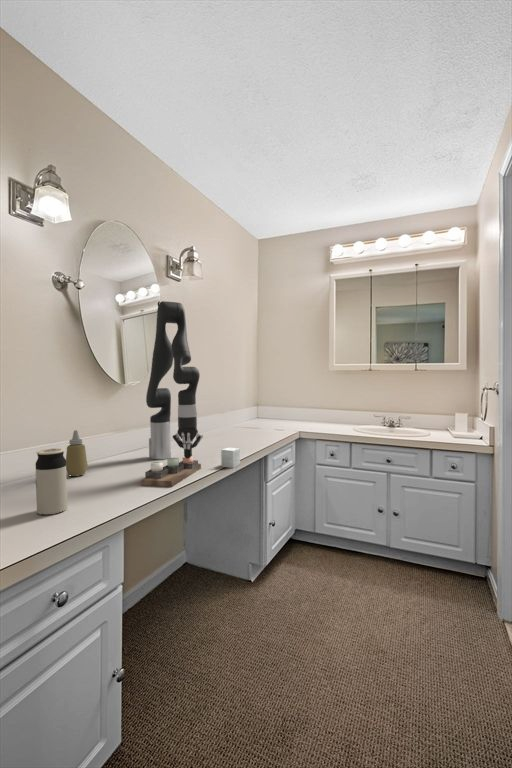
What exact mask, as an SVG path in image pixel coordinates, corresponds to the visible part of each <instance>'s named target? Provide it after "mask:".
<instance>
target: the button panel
mask: <svg viewBox="0 0 512 768" xmlns="http://www.w3.org/2000/svg"><path fill="white" fill-rule="evenodd" d="M201 469H202V463H199V460H197V459H195V460H194V459H193V463H183V460H181V461H179V467H176V468H170V467H167V465H163V471H162V472H151V469H149V470H147V471H145V472H144V473H145V474H144V475H145V476H144V477H143V478H142V479H141V480H140V484H141V486H150V487H151V486H153V487H169V488H173V487H174V486H177V484H179V483H180V482H182V481H184V480H185V479H187V478H188V477H190V476H192V475H193V474H194V473H197V471H200V470H201ZM183 479H184V480H183Z"/></svg>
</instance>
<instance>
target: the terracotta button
mask: <svg viewBox="0 0 512 768" xmlns="http://www.w3.org/2000/svg"><path fill="white" fill-rule="evenodd" d="M193 460H194V457H193V456H191V458H185V456H184V457H182V461H183V463H193Z"/></svg>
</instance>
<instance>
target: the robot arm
mask: <svg viewBox="0 0 512 768" xmlns="http://www.w3.org/2000/svg"><path fill="white" fill-rule="evenodd" d="M186 318H187V317H186V311H185V308H184V305H183V304H182V303H181V302H177V301H166V300H164V301H160V302H159V304H158V306H157V310H156V327H155V338H154V345H153V350H152V351H153V352H152V358H151V360H152V361H151V371H150V377H149V382H148V385H147V391H146V396H145V397H146V399H145V401H146V406H147V407H148V408H150V409H158V408H159V409H160V408H161V409H160V410H159V411H158V412H156V413H154V414H152V415H151V416H150V420H149V421H150V422H149V425H150V428H149V429H150V438H148V459H152V460H167V459H168V458H172V452H171V449H172V447H171V446H172V445H171V413H172V411H171V409H172V408H171V406H172V404H171V403H172V397H171V396H172V394H171V391H170V389H169V388H167V387H164V388H163V387H162V388H161V387H160V388H159V385H160V383H161V381H162V380H163V378H164V377H165V376H166V375H167V374H168V372H169V371H170V370H171V368H172V366H173V372H172V373H173V375H172V378H173V381H174V382H175V383H176V384H177V385H188V386H187V388H185V389H182V390H179V391H178V393H177V403H178V406H177V427H178V430H177V432H176V433H175V434H174V435H172V439H173V440H174V441H175V443H176V444H177V445H178V447H179V449H181V448H182V449H183V454H184V455H183V456H184V457H185V458H191V457H193V449H195V448H196V447H198V444H199V443H200V441H202V439H203V438H204V435H203V434H200V433H199V431H198V426H197V424H198V422H197V421H198V419H197V418H198V417H197V416H198V414H197V412H198V411H197V405H196V403H197V402H196V401H197V400H196V394H197V390H198V389H197V388H198V385H199V381H200V376H201V375H200V374H201V373H200V372H199V371H200V370H199V369H198V368H197V367H196V366H186V365H188V364H190V362H191V361H192V355H191V352H190V347H189V342H188V334H187V322H186V320H187V319H186ZM167 324H175V325H177V330H176V333H175V335H174V336H173V339H172V342H171V341H170V339H169V337H168V335H167V330H166V327H167V326H166V325H167Z"/></svg>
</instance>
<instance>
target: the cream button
mask: <svg viewBox="0 0 512 768" xmlns="http://www.w3.org/2000/svg"><path fill="white" fill-rule="evenodd" d="M163 467H164V464H163V461H153V462H150V470H151V472H162V471H163Z"/></svg>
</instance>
